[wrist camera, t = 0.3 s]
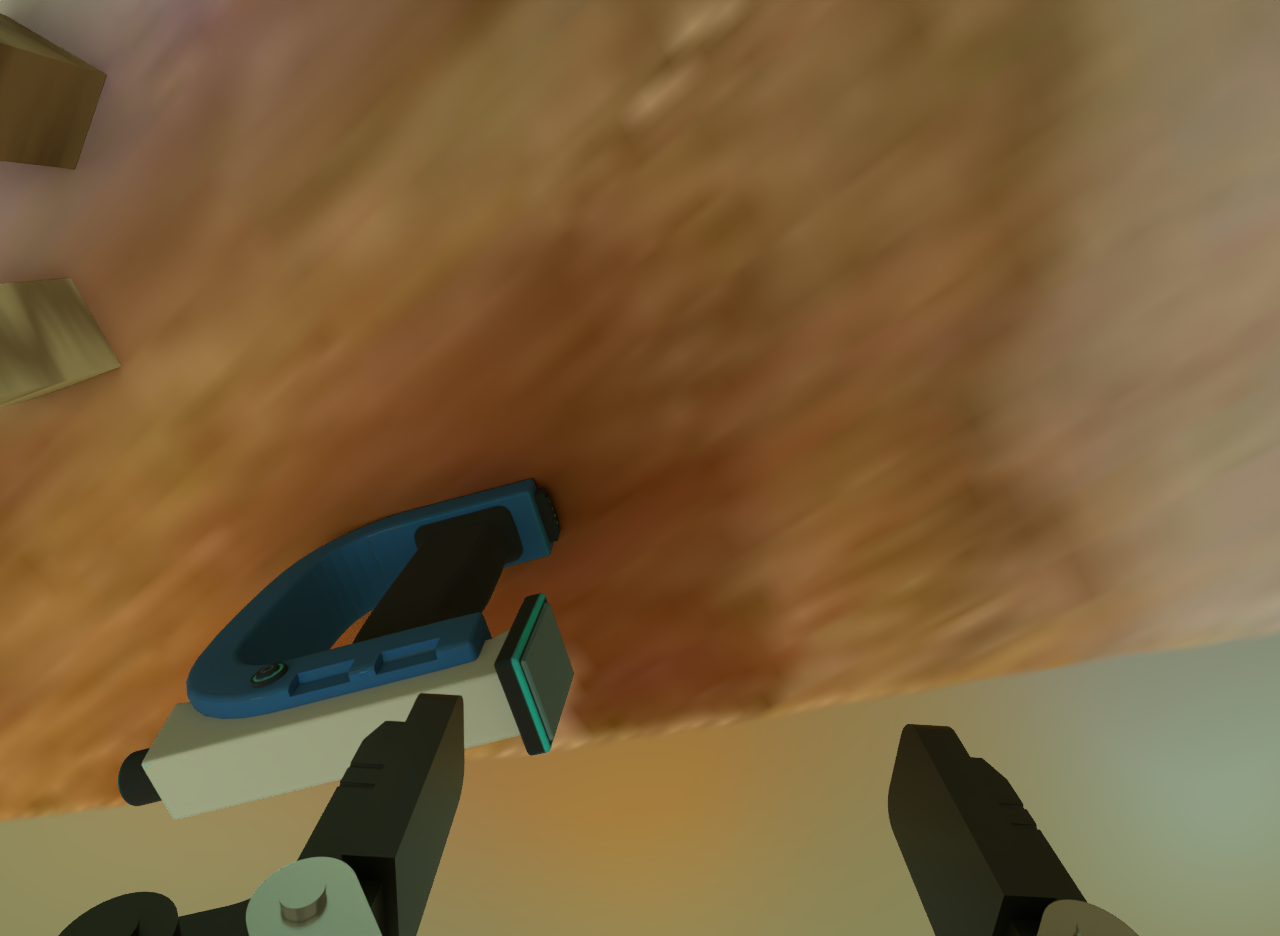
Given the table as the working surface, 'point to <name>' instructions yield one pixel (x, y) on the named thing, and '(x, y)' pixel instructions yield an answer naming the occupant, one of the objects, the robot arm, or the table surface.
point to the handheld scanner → (365, 656)
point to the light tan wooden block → (43, 99)
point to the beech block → (47, 340)
